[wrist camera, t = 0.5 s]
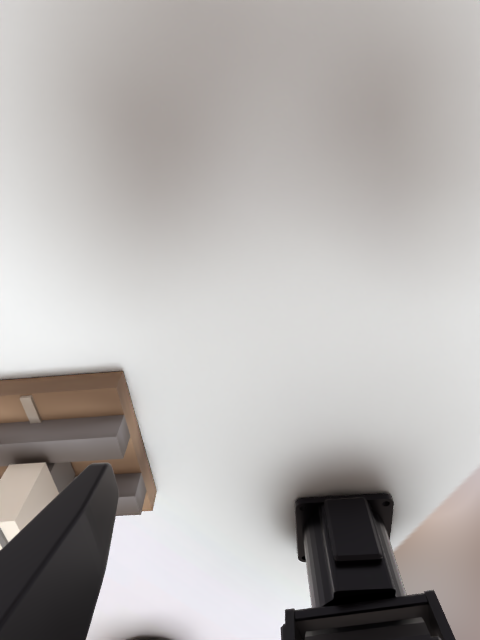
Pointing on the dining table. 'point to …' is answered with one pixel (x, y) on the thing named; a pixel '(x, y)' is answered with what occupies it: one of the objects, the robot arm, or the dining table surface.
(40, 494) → the fader tab
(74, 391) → the fader board
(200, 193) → the dining table surface
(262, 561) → the dining table surface
